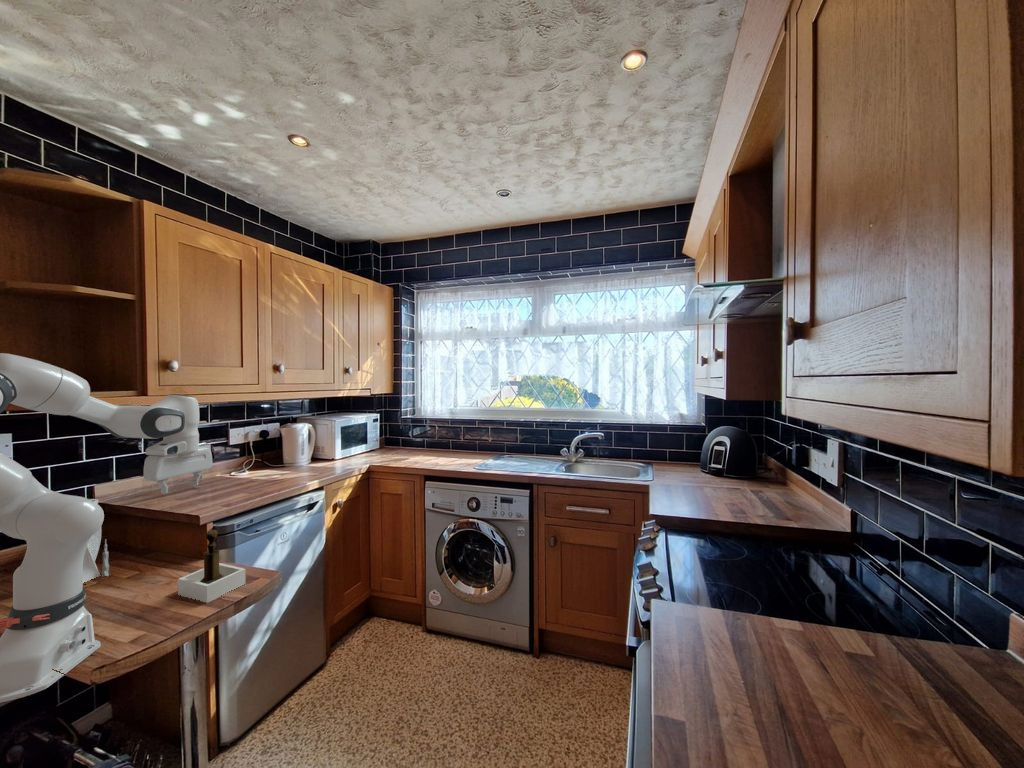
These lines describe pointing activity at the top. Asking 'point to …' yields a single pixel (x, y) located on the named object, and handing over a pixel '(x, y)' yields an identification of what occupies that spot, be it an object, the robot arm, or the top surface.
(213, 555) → the dark brown tall piece
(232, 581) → the open rectangular tray
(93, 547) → the skyscraper
